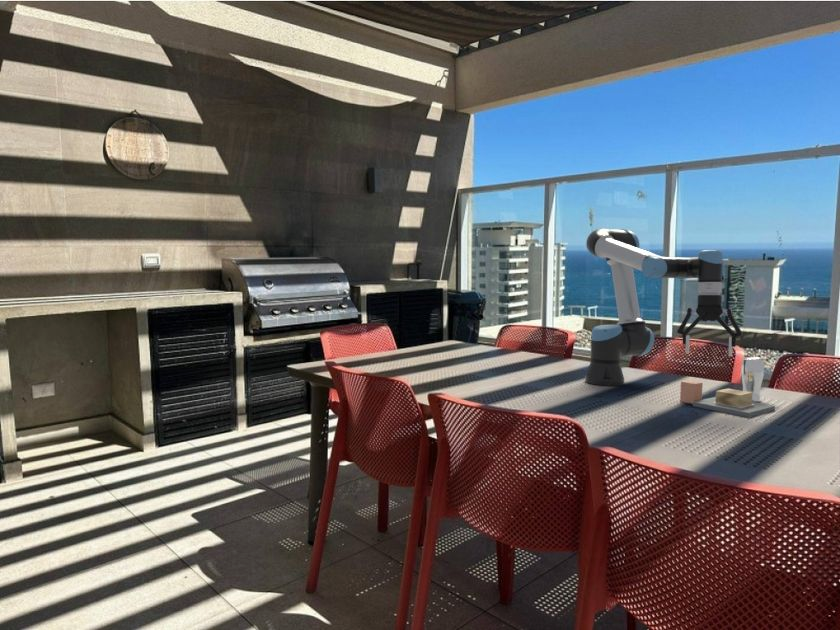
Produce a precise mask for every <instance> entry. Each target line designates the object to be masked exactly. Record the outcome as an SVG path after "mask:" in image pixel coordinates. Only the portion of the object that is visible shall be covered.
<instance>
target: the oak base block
mask: <svg viewBox="0 0 840 630" xmlns="http://www.w3.org/2000/svg"><path fill="white" fill-rule="evenodd" d="M715 397H716V400H715V403H720V404H725V405H730V406H735V407H744V406H748V405H752V392H746V391H743V390H740V389H733V388H723V389H718V390H716V391H715Z"/></svg>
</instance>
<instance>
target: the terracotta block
mask: <svg viewBox="0 0 840 630" xmlns="http://www.w3.org/2000/svg"><path fill="white" fill-rule="evenodd" d="M679 393H680V394H679V395H680V396H679V397H680V398H679V401H680V402H682V403H687V404H692V405H693V402H694V401H698V400H703V399H702V397H703V382H700V381H695V380H690V379H689V380H683V381H681V382H680V392H679Z"/></svg>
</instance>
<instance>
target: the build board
mask: <svg viewBox="0 0 840 630" xmlns="http://www.w3.org/2000/svg"><path fill="white" fill-rule="evenodd" d="M715 400H716V396H714V397H709V398H704V399H702V400H698V401H694V402H693V404H692V407H695V408H699V409H700V408H701V409H704V410H710V411H714V412H720V413H724V414H729V415H734V416H739V417H744V418H748V419H749V418H752V417H756V416H759V415H762V414H766V413H767V414H768V413H771V412H773V411H776V410H775V409H776V407H775V406H776V405H771V404H766V403H761V402H752V405H748V406H744V407H735V406H730V405H725V404H720V403H715Z"/></svg>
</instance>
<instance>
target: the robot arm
mask: <svg viewBox="0 0 840 630" xmlns="http://www.w3.org/2000/svg"><path fill="white" fill-rule="evenodd" d="M585 243H586V244H585V245H586V248H587V251H588V253H590V254H591V255H592V256H595V257H597V258H600V259H606V260H605V261H606V264H608V265H609V266H610V269H611V274H612V275H611V277H612V280H613V282H612V283H613V288H614V295H615V302H616V308H617V309H616V310H617V315H618V322H617V323H616V324H614V323H613V324H600V325H596V326H594V327H593V328H592V330H591V337H590V340H591V341H590V361H589V362H590V363H589V366H588V368H587V371H586V374H585V378H584V380H585V383H588V384H590V385H591V384H592V385H596V386H604V387H605V386H607V387H615V386H616V387H618V386H623V385H625V377H624V374H623V373H624V372H623V370H622V365H621V363H622V362H621V360H622V359H621V357H633V356H634V357H639V356H644V355H646V354H649V353H650V352H651V350H652V348H653V347H654V343H655V334H654V332H653V331H652V330H651V328H649V327H647V325H646V320H644V319H642V317H641V311H640V305H639V299H638V298H639V297H638V293H637V292H638V291H637V286H636V278H635V273H634V269H635V270H638V271H640V272H642V274H643V275H644V276H645V277H647V278H651V279H678V280H679V279H680V280H681V279H682V280H685V279H694V278H695V279H696V278H697V294H699V295H698V296H697V307H696V308H692V307H688V308H687V311H686V315H685V317H684V318H683V321H682V322H681V323H680V326H679V328H678V329H677V331H676V332H677V334H679V335H681V336H682V344H683V345H685V354H686V355H689V354H690V348H691V347H690V344H691V343H690V340H691V339H690V337H691V336H690V332H691V331H692V330H693V329H694V328H695V327H696V326H697V325H698V324H699V323H700V322H701V321H704V322H708V321H710V322H714V321H715V322H716V321H717V322H718V323H719V324H720V325H721V326H722V328H724V330H725V331H726V332H727V333H728V334H729V337H728V357H732V356H733V347H736V345H737V337H740V336H742V335H743V331H742V330H741V328H740V326H739V324H738V323H737V321H736V318H735V317H734V314H733V310H732V308H724V309H723V307H722V306H723V305H722V304H723V303H722V301H723V299H722V298H723V296H722V295H721V294H722V293H723V279H722V278H723V264H724V261H723V253H722V251H721V250H719V249H708V250H707V249H704V250H699V252H698V254H697V256H695V257H694V256H693V257H675V256H671V257H670V256H662V255H659V254H656V253H653V252H650V251H648V250H644V249H642V248H640V240H639V238H638V236H637V234H636V233H635V232H633V231H631V230H627V229H622V228H621V229H614V228H598V229H595V230H593V231H592V232H591V233H589V235H588V236H587V239H586V242H585ZM695 313H696V314H697V317H696V318H695V320H694V321H693V322H692V323H691V324H690V325H689V326H688V327H686V326H687V324H688V322H689V320H690V319H691V317H692V315H695ZM723 313H724V315H726V316H727V317H728V319H729V321H730V323H731V325H732V327H733V328H734V329H732V327H730V325H728V324H727V322H725V320H723V319H724V318H722V315H723ZM685 327H686V329H685ZM684 329H685V330H684Z"/></svg>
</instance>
